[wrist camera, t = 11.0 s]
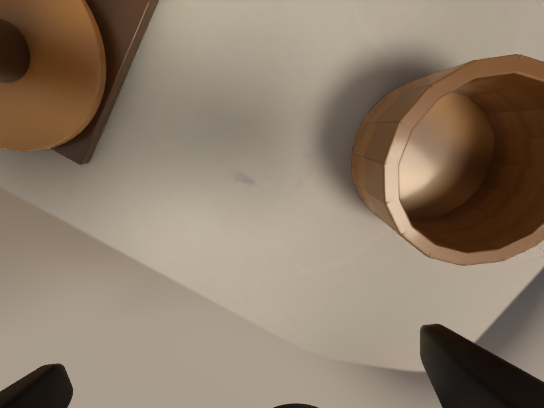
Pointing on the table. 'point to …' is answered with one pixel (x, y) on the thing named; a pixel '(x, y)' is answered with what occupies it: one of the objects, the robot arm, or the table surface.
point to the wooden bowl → (459, 160)
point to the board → (111, 64)
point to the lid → (48, 72)
